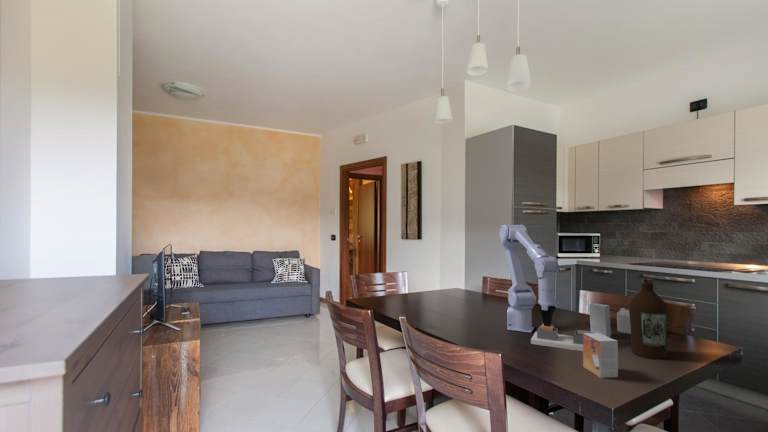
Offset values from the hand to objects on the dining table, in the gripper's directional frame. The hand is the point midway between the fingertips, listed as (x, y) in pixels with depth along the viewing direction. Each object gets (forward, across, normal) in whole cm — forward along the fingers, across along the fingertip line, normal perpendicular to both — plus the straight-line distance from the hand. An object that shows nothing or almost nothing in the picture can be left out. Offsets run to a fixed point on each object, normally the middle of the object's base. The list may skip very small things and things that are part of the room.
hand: (547, 325), depth 140 cm
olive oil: (+6, +1, -31) cm, 32 cm away
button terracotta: (+3, 0, 0) cm, 3 cm away
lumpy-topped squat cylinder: (+6, +32, -29) cm, 44 cm away
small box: (+6, -24, -17) cm, 30 cm away
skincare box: (+6, +17, -17) cm, 25 cm away
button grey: (+4, 0, -12) cm, 13 cm away
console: (+6, 0, -6) cm, 8 cm away
